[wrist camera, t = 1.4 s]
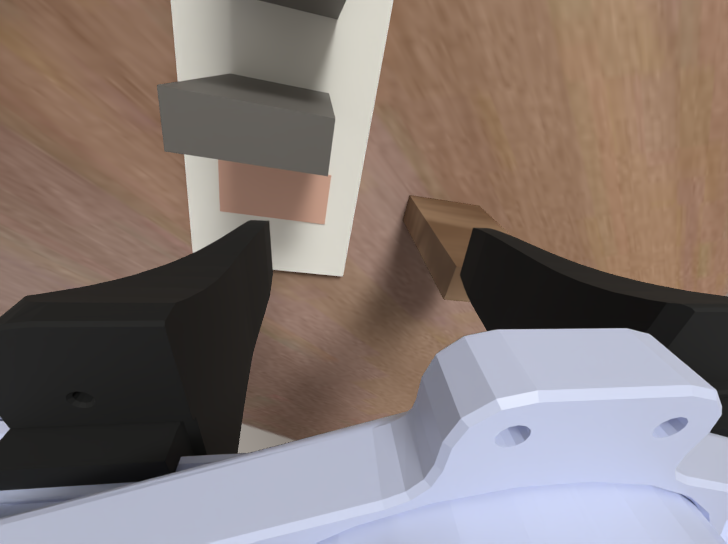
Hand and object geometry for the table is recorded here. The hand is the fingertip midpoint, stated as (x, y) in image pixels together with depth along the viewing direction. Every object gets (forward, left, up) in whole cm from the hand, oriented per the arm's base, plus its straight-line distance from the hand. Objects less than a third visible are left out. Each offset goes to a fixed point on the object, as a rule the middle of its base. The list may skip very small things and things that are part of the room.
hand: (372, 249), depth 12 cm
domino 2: (-5, -5, -11) cm, 13 cm away
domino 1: (+5, +2, -10) cm, 11 cm away
